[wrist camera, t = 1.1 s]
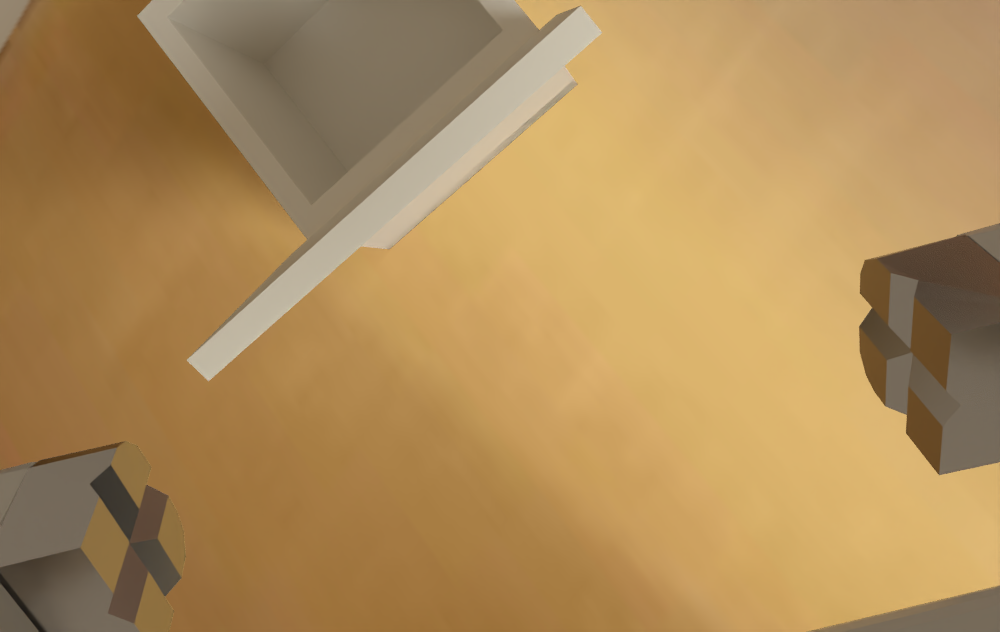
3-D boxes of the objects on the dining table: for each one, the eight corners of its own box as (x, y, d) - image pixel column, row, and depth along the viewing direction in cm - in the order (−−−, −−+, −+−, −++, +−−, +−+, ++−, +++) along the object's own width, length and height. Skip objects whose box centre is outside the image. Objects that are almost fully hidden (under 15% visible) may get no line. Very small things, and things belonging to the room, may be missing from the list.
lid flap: (580, 5, 21) (602, 32, 21) (556, 15, 32) (570, 32, 33) (186, 359, 24) (208, 381, 24) (292, 253, 35) (306, 268, 35)
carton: (420, -106, 43) (345, -205, 34) (578, 83, 42) (541, 30, 33) (245, 65, 46) (134, 14, 37) (388, 249, 44) (307, 241, 35)
